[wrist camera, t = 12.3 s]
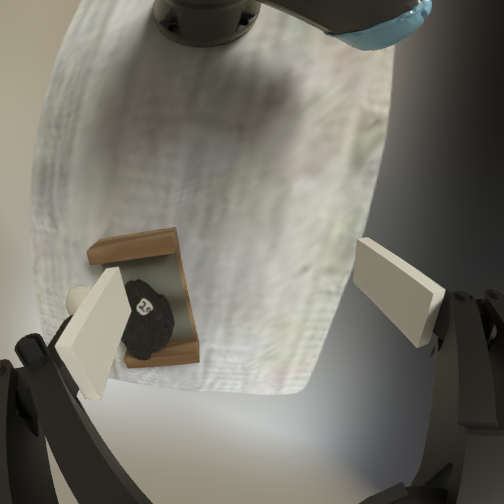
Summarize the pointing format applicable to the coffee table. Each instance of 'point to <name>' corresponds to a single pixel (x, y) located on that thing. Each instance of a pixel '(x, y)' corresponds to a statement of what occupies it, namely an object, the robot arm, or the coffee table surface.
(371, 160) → the coffee table surface
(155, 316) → the mineral
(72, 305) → the cream glossy rounded part
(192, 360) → the rest
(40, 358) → the robot arm
